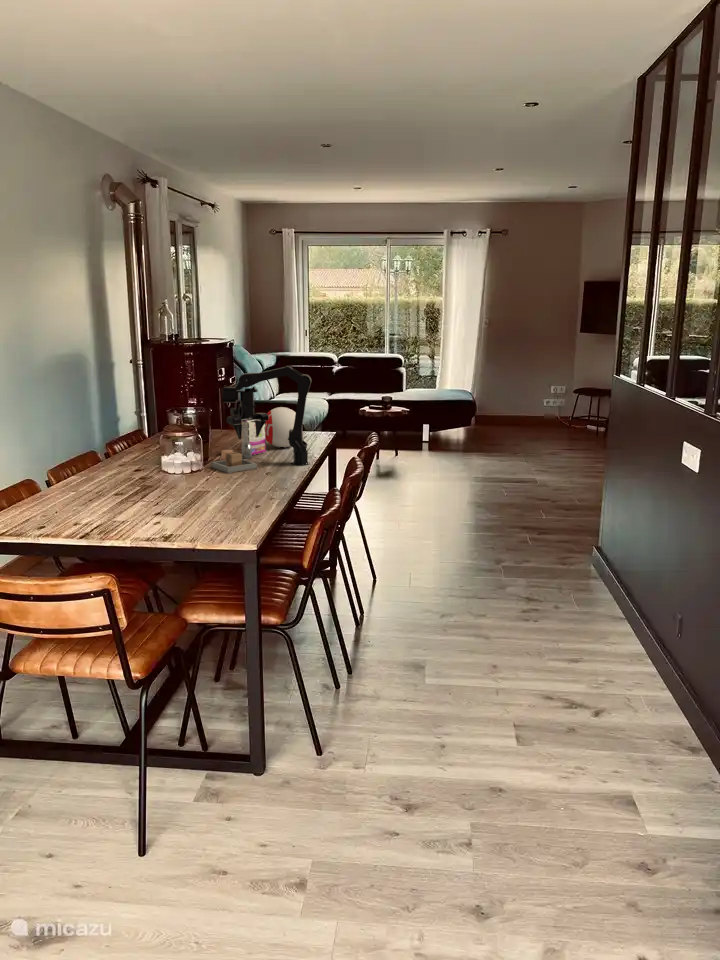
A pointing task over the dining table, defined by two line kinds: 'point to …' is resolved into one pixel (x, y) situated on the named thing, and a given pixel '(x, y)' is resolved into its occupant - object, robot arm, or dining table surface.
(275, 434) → the decorative sphere
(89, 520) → the dining table surface
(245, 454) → the steel cylinder
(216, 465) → the charcoal tray
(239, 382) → the robot arm
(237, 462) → the walnut block
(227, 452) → the tan block
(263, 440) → the candy bar box
